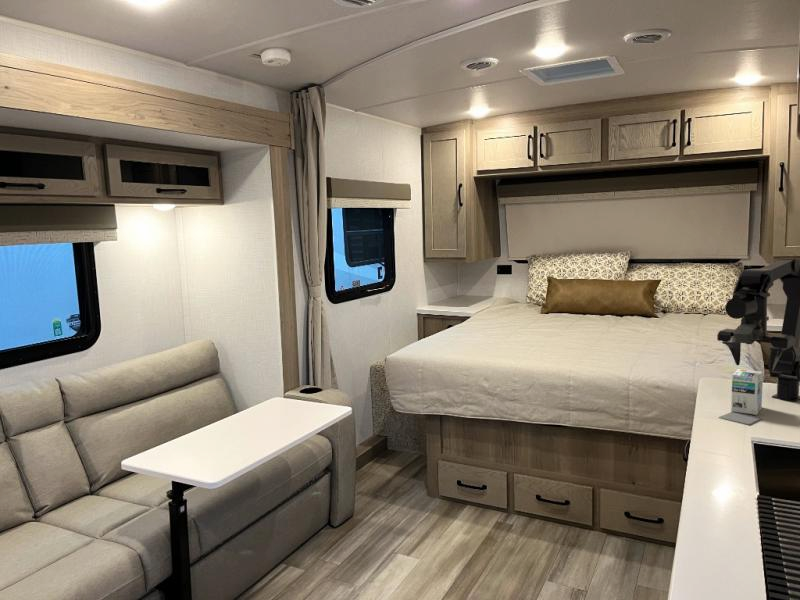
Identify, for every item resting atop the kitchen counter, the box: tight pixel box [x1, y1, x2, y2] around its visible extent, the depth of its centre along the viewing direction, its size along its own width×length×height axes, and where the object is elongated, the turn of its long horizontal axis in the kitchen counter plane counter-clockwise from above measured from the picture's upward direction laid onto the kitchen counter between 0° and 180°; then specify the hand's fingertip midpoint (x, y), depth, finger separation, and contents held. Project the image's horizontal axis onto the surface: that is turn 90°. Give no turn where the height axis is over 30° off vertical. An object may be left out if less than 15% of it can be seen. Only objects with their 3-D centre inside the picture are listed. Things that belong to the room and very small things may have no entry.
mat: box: [718, 411, 764, 426], centre depth 167 cm, size 8×8×1 cm
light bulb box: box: [730, 369, 764, 416], centre depth 174 cm, size 11×7×11 cm, turn 143°
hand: (754, 367), depth 173 cm, fingers open, 9 cm apart
